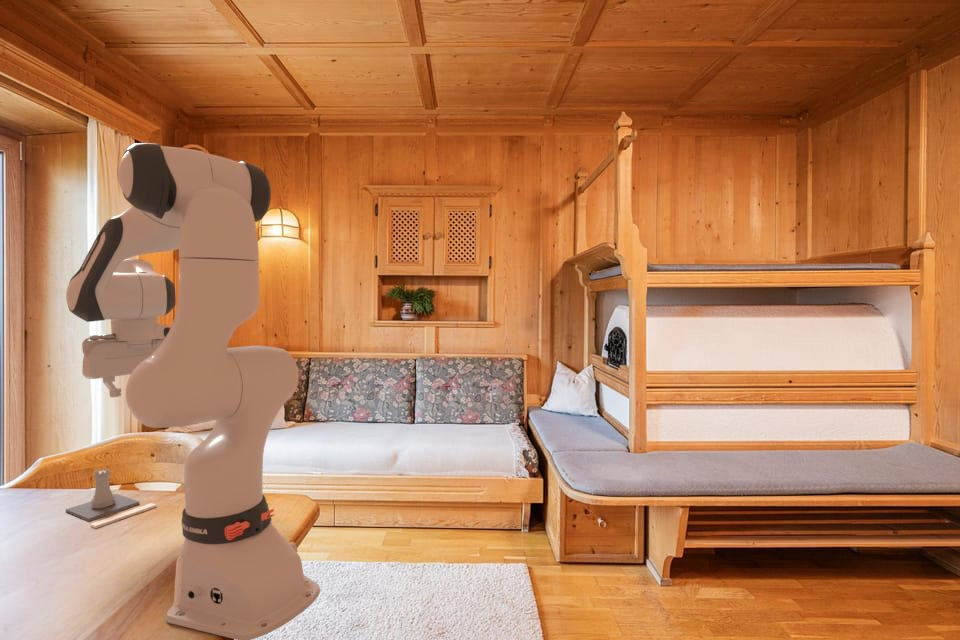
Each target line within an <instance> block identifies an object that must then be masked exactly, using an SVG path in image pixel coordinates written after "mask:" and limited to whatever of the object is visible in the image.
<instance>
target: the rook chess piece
mask: <svg viewBox="0 0 960 640" xmlns="http://www.w3.org/2000/svg"><path fill="white" fill-rule="evenodd" d="M111 474H112V473H111V471H110V470H109V468H106V467H105V468H104V469H103V468H100V469H99V470H98V469H97V470H95V471H94V474H93V475H92V478H93V479H95V481H94V483H93V484H94V485H95V489H94V495H93V497H92V499H91V500H90V502H91V503H93V504H92V505H91V507H92V508H94V509H102V508H107V507H109V506H112V505H113V504H114V503H115V500H114V498H115V496H114V495H113V494H114V493H113V492H112V490H111V487H110V481H111V479H110V476H111Z"/></svg>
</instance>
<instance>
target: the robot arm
mask: <svg viewBox="0 0 960 640" xmlns="http://www.w3.org/2000/svg"><path fill="white" fill-rule="evenodd" d="M117 172H118V173H117V175H118V183H119V187H120V188H121V191H122V194H123V197H124V199H125V200H126V201H127V202H128V203H129V204H130V205H131V206H130V207H128V208H127V209H126V210H125V211H123V212H122V213H120V214H118V215H116V216H113V217H111V218H109V219H107V220H106V221H105V223H104V225H103V226H102V228H101V229H100V231H99V232H98V234H97V236H96V238H95V239H94V240H93V241H94V242H93V243H92V245H91V247H90V249H89V251H88V253H87V254H86V256H85V259H84V260H83V261H82V264H81V266H80V267H79V269H78V271H77V272H76V273H75V274H74V275H73V276H72V277H71V278H70V280H69V283H68V286H67V288H66V293H65V294H66V295H65V298H66V303H67V307H68V310H69V311H70V312H71V313H72V314H73V315H74V316H75V317H77V318H79V319H81V320H82V321H85V322H87V323H89V322H90V323H91V322H100V321H105V320H110V327H111V328H110V329H111V330H110V331H111V332H110V333H105V334H92V335H90V336H89V337H86V338H85V339H84V340H83V342H82V345H81V346H82V347H81V349H82V353H83V357H82V358H83V359H82V368H81V369H82V370H81V371H82V376H84V377H85V378H86V379H89V380H96V379H98V380H99V379H102V383H103V384H104V385H105V387H106V388H107V389H108V391H109V398H119V397H121V396H122V389H121V388H119V387H116V385H115V384H114V382H116V377H120V376H121V377H122V376H128V375H129V377H128V380H127V382H126V387H125V399H126V404H127V408H128V409H129V411H130V413H131V414H132V416H133V417H134V418H135V419H136V420H137V421H138V422H139V423H141V425H144V426H146V427H147V428H183V427H184V428H185V427H189V426H194V425H199V424H204V423H208V422H212V421H215V423H214V425H213V427H212V430H211V431H210V433H209V435H208V436H207V437H206V438H205V439H204V440H203V441H202V442H201V443H200V444H198V445H197V446H196V447H195V448H194V449H193V450H191V452H190V453H189V454H188V456H187V457H186V460H185V463H184V467H183V479H184V480H183V482H184V509H183V510H182V513H181V514H182V516H181V527H182V529H181V530H182V536H183V537H184V541H183V545H182V547H181V550H180V552H179V554H178V556H177V560H176V561H175V562H176V564H175V576H174V577H175V578H174V593H173V595H174V596H173V604H172V606H171V607H169V609H168V611H167V612H166V618H165V619H166V623H169V624H172V625H176V626H180V627H185V628H187V629H188V628H189V629H191V630H192V629H193V630H196V631H200V632H204V633H208V634H213V635H216V636H220V637H224V638H228V639H233V640H255V639H257V638H260V637H263V636H265V635H267V634H269V633H271V632H274V631H276V630H277V629H279V628H281V627H283V626H285V625H286V624H287V623H289V622H291V621H292V620H294V619H295V618H297V617H298V616H299V615H300V614H302V613H304V611H306V609H308V608H309V607H310V606H311V605H312V604H313V603H314V602H315V601H317V599H318V597H319V595H320V593H321V588H320V584H318V583H317V582H316V581H314V580H313V579H311V578H310V577H308V576H306V575H305V574H304V570H303V563H302V560H301V559H302V558H301V556H300V555H299V553H298V547H297V545H296V543H295V542H293V541H290V542H288V541H287V540H286V539H285V537H284V536H283V535H282V534H281V533H280V531H278V529H277V528H276V527H275V526H274V525H273V523H272V517H274V516H275V514H274V513H273V512H274V511H275V508H272V509H269V504H268V503H267V500H266V496H265V495H264V493H263V491H264V490H263V468H264V466H263V465H264V464H263V463H264V451H265V446H266V442H267V439H268V436H269V433H270V430H271V427H272V425H273V423H274V421H275V419H276V417H277V415H278V413H280V410H281V409H282V407H284V405H285V404H286V403H287V402H288V401H289V400H290V399H291V398H292V396H293V395H294V394H295V392H296V390H297V388H298V384H299V379H300V378H299V368H298V364H297V363H296V360H295V358H294V357H293V356H292V355H291V353H289V352H288V351H287V350H286V349H284V348H282V347H281V348H280V347H276V346H275V347H274V346H268V345H267V346H266V345H259V344H258V345H248V346H246V345H245V346H244V345H243V346H236V347H228V346H229V342H230V340H231V338H232V336H233V334H234V332H236V330H237V329H238V327H240V325H242V324H243V323H245V322H247V321H249V320H250V319H251V318H252V317H254V315H256V313H257V311H258V308H259V305H260V262H259V261H260V258H259V257H260V256H259V255H260V254H259V252H260V251H259V241H258V239H259V238H258V232H257V226H256V223H257V222H259V221H261V220H262V219H263V218H264V216H265V215H266V214H267V213H268V211H269V208H270V204H271V198H272V190H271V184H270V180H269V178H268V176H267V175H266V173H265V172H264V170H263V169H261V168H260V167H258V166H256V165H254V164H251V163H248V162H246V161H242V160H241V161H237V160H234V159H231V158H227V157H224V156H220V155H216V154H211V153H206V152H205V151H202V150H199V149H191V148H185V147H184V148H183V147H175V146H165V145H164V146H163V145H160V144H159V143H156V142H155V143H153V142H151V143H150V142H141V143H140V142H139V143H137V142H136V143H133V144H131V145H130V146H129V147H127V149H125V151H124V153H123V155H122V158H121V159H120V162H119V166H118V171H117ZM176 250H178V258H179V259H178V294H177V295H178V297H176V286H175V284H174V282H173V281H172V280H171V279H170V278H168V277H167V276H166V275H164V274H159V273H157V272H156V271H155V270H154V266H153V264H152V263H151V262H149V261H147V260H143V259H138V258H137V259H135V258H133V257H137V256H141V255H149V254H154V253H163V252H171V251H176ZM130 258H133V259H130ZM176 298H177V306H176ZM175 307H177V308H176V312H175V316H174V319H173V322H172V323H171V326H169V325H165V324H162V323H159V319H158V318H160V317H163V316H166V315H168V314H169V313H170V312H172V310H173V309H174V308H175ZM272 513H273V514H272Z"/></svg>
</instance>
